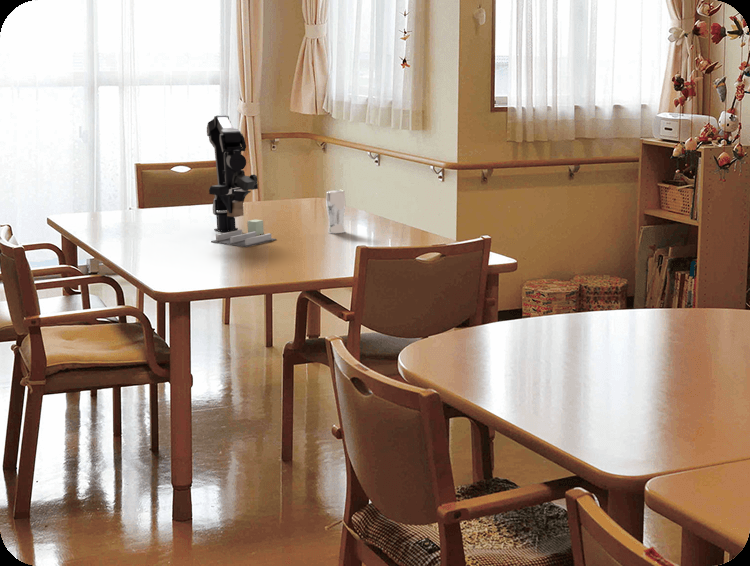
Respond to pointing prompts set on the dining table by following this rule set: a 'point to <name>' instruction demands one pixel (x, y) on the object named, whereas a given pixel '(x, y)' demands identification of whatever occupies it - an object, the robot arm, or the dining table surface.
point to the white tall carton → (335, 210)
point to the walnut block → (236, 209)
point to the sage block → (255, 226)
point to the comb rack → (242, 238)
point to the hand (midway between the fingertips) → (235, 212)
